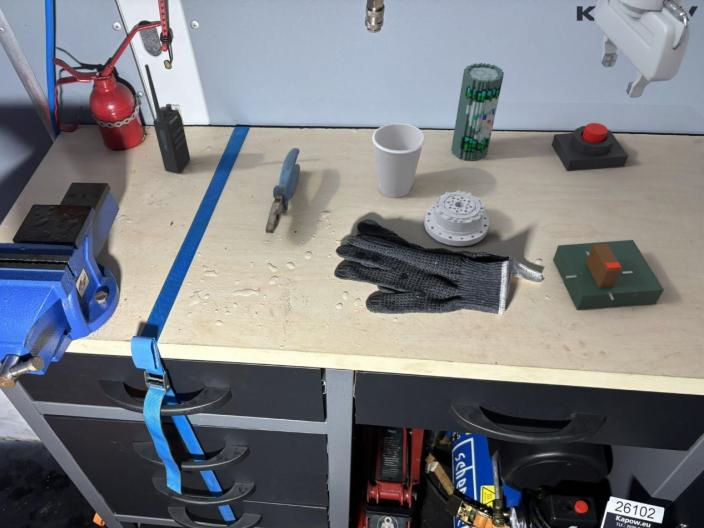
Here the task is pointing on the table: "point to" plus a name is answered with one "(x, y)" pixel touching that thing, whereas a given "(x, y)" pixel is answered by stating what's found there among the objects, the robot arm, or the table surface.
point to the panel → (629, 288)
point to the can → (476, 110)
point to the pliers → (284, 189)
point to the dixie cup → (397, 157)
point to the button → (595, 132)
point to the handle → (603, 266)
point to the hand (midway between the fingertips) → (619, 79)
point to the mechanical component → (457, 219)
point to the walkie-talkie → (169, 133)
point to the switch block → (588, 151)
